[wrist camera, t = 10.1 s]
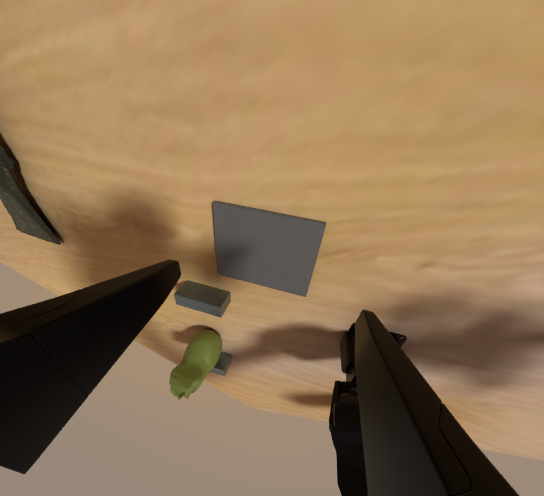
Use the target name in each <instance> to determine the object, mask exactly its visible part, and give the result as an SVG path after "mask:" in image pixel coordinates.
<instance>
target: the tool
mask: <svg viewBox="0 0 544 496" xmlns="http://www.w3.org/2000/svg"><path fill="white" fill-rule="evenodd" d="M14 163H15V162H14V161H13V160H12V159H11V158H9V157H8V156H7V154H6V153H5V151H4V149H3V148H2V147H1V146H0V199H1V200H2V202H3V204H4V206H5V208H6V209H7V211H8V213H9V214H10V215H11V216H12V219H13V221H14V224H15V226H16V229H17V230H19V231H21V232H23V233H26V234H29V235H31V236H34V237H37V238H39V239H42V240H46V241H49V242H52V243H55V244H59V245H61V244H60V241H59V240H58V238H57V237H56V236H55V235H54V234H53V232H52V231H51V230H50V229H49V228H48V227H47V225H46V224H45V223H44V221H43V220H42V219H41V217H40V216H39V215H38V213H37V212H36V211H35V210H34V209H33V207H32V206H31V204H30V203H29V202H28V200H27V198H26V197H25V195H24V193H23V191H22V190H21V188H20V186H19V184H18V181H17V178H16V175H15V174H14V172H13V169H14Z"/></svg>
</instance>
